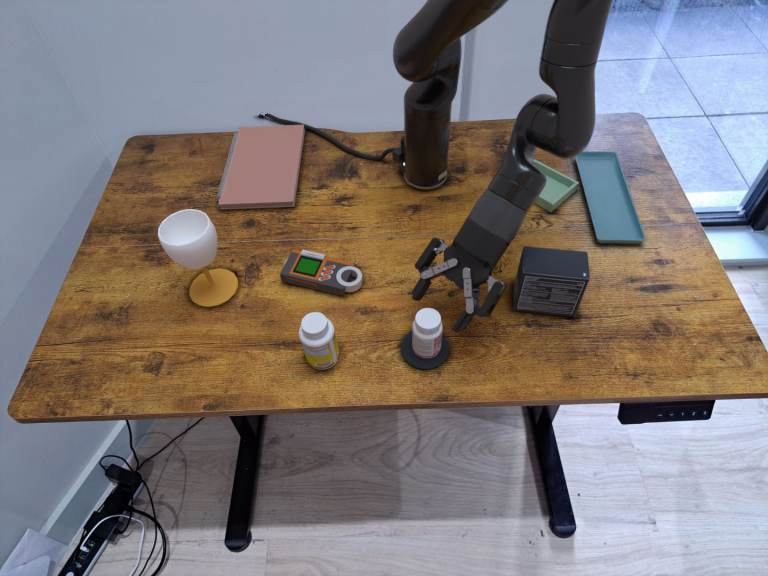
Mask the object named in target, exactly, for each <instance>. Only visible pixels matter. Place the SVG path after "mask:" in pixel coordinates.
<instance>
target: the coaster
mask: <svg viewBox="0 0 768 576" xmlns="http://www.w3.org/2000/svg"><path fill="white" fill-rule="evenodd" d="M412 337H413V329H412V330H410V331H408V333H407V334H405V336H404V337H403V339H402V340H401V344H400V353H401V355H402V358H403V359H404V361H405V362H406V363H407V364H408V365H409V366H411V367H413V368H415V369H417V370H420V371H431V370H434V369H437V368H439V367H441V366H442V365H443V364H444V363H445V362H446V361H447V359H448V357H449V354H450V343H449V341H448V339H447V337H446V336H445V335H444V334H443V333H442V341H441V349H440V351H439V353H438V354H437V355H436V356H435V357H432V358H422V357H419V356H418V355H416V354H415V352H414V351H413V348H412Z"/></svg>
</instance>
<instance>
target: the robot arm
mask: <svg viewBox="0 0 768 576" xmlns="http://www.w3.org/2000/svg"><path fill="white" fill-rule="evenodd" d="M509 1H510V0H426V1H425V3H424V4H423V5H422V7H421V8H420V9H419V10H418V12H416V14H415V15H414V16H413V17H412V18H411V19H410V20H409V21H408V22H407V23H406V24H405V25H404V26H403V27H402V28H401V29H400V30H399V32H398V33H397V34H396V37H395V39H394V42H393V47H392V62H393V65H394V68H395V70H396V72H397V73H398V75H399V76H400V77H401V78H402V79H403V80H405V81H407V82H410V83H411V84H410V85H409V86H408V87H407V88H406V91H405V92H404V95H403V135H402V136H401V137H400V145H399V146H398V147H390V148H387V149H385V150H384V151H383V152H382V153H381V155H375V156H374V155H368V154H365V153H362V152H361V151H357V150H355V149H353V148H351V147H348V146H346V145H345V144H343V143H341V142H340V141H338V140H337V139H336V138H334V137H332V136H331V135H329V134H327V133H325V132H324V131H322V130H320V129H318V128H316V127H314V126H312V125H309V124H306V123H302V122H300V121H299V122H298V121H294V120H288V119H285V118H280V117H277V116H276V115H273V114H271V113H269V112H266V113H267V114H265V116H263V115H261V113H260V114H259V115H258V116H257V117H258V118H259V119H262V118H263V117H266V118H269V119H271V120H273V121H274V122H277V123H280V124H286V125H304V129H305V130H306V129H307V130H309V131H311V132H313V133H315V134H318V135H319V136H321V137H323V138H324V139H326V140H328V141H329V142H331V143H332V144H334V145H336V146H337V147H338V148H339V149H341V150H343V151H345V152H346V153H348V154H349V153H350V154H352V155H354V156H357V157H360V158H362V159H364V160H370V161H381V160H384V159H385V158H386V156H387V155H388V154H392V160H393V161H394V162H395V163H397V164H399V165H400V170H401V171H400V172H401V173H400V174H401V175H402V176H403V178H404V182H405V183H406V184H407V185H408V186H409V187H411V188H413V189H415V190H419V191H433V190H436V189H439V188H441V187H442V186H443V185H444V184H445V183H446V182H447V180H448V163H449V149H450V138H451V137H450V134H451V122H452V120H451V119H452V108H453V107H452V106H453V101H454V99H455V97H456V95H457V92H458V85H459V79H460V70H461V63H462V54H463V53H462V52H463V51H462V50H463V48H462V47H463V46H462V39H461V38H462V37H463V36H465V35H466V34H468V33H469V32H471V31H473V30H475V29H476V28H477V27H479V25H481V24H483V23H484V22H485V21H487V20H488V19H490V18H491V17H493V16H494V15H495V14H496V13H497V12H499V11H500V10H501V9H502V8H503V7H504V6H505V5H506V4H507V3H508V2H509ZM613 1H614V0H553V2H552V4H551V6H550V10H549V13H548V16H547V19H546V23H545V28H544V35H543V42H542V46H541V52H540V59H539V65H538V76H539V78H540V80H541V81H542V82H543V83H544V84H545V85H546V86H548V87H549V88H550V89H551V90H552V91H553V92H554V94H555V96H554V95H551V94H549V93H539V94H537V95H534V96H532V97H531V98H530V99H528V100H527V101H526V102H525V103H524V105H522V107H521V109H520V110H519V112H518V114H517V116H516V118H515V121H514V124H513V127H512V131H511V134H510V137H509V140H508V144H507V147H506V149H505V153H504V156H503V159H502V162H501V164H500V166H499V168H498V169H497V171H496V172H495V174H494V176H493V177H492V179H491V181H490V183H489V184H488V186H487V187H486V188H485V190H484V191H483V193H482V194H481V195H480V197H479V198H478V199H477V201H476V202H475V204H473V205H474V206H473V207H472V208H471V211H470V212H469V214H468V216H467V217H466V218H465V220H464V221H463V223H462V225H461V226H460V228H459V230H458V232H457V233H456V235H455V236H454V238H453V241H452V243H451V244H450V245H448V244H446V241H445V240H444V239H443V238H440V237H432V239H431V240H430V241H429V242H428V244H427V245H426V247H425V248H424V250H423V251H422V253H421V255H420V256H419V258H418V259H417V261H416V262H415V264H414V268H415V270H417V271H418V272H419V275H420V277H419V279H418V281H417V283H416V284H415V285H414V287H413V289H412V290H411V291H412V292H411V294H412V296H411V299H412V300H413V301H415V302H421V301H422V300H423V298H424V297H425V295H426V293H427V292H428V290H429V288H430V287H431V286H432V284H433V281H432V280H434V279H437V278H440V277H444V278H445V279H447V280H448V281H450V282H453V283H454V284H455V286H456V287H457V288H459V289H462V290H463V296H464V299H465V309H464V310H462V312H461V314H460V315H459V317H458V318H457V319H456V321H455V323H454V324H453V326H452V327H451V331H452V332H453V333H455V334H457V333H460V332H461V333H462V332H465V331H466V330H467V329H468V327H469V326H470V324H471V323H472V321H473V320H474V318H475V316H476V317H479V318H489V317H491V316H492V315H493V312H494V310H495V309H496V307H497V305H498V304H499V302H500V300H501V299H502V297H503V295H504V294H505V291H506V290H507V288H508V284H507V282H505V281H500V280H498V279H497V278H495V277H494V276H493V271H494V269H495V268H496V267H497V265H498V263H499V262H500V261H501V259H502V257H503V256H504V254H505V252H506V251H507V250H508V248H509V246H510V245H511V243H512V242H513V241H514V240H515V238H516V237H517V235H518V232H519V231H520V230H521V228H522V226H523V224H524V221H525V219H526V218H527V216H528V214H529V212H530V211H531V209H532V208H533V206H534V204H535V201H536V200H537V198H538V196H539V195H540V194H541V192H542V190H543V189H544V187H545V185H546V182H547V178H546V175H545V174H544V173H543V172H542V171H541V170H540V169H539V168H538V167H537V166H536V165H535V164H534V159H535V155H536V151H537V149H539V150H542V151H544V152H546V153H548V154H550V155H552V156H554V157H556V158H558V159H562V160H570V159H575V157H576V156H577V155H579V154H580V153H581V152H582V151H585V150H586V148H587V147H588V146H589V144H590V142H591V140H592V137H593V135H594V133H595V126H596V117H597V116H596V115H597V114H596V68H597V64H598V59H599V56H600V51H601V48H602V43H603V40H604V35H605V31H606V27H607V24H608V23H607V22H608V19H609V15H610V12H611V9H612V6H613ZM268 113H269V114H268ZM442 253H443V262H442V263H439V264H435V265H434V266H432V267H431V265H432V264H433V262H434V260H435V259H436V258H437V257H438V255H441V254H442ZM430 267H431V268H430ZM484 284H488V286H487V291H488V293H487V295H486V296H485V299H484V300H483V301H482V304H481V303H480V302H481V301H480V300H481V299H480V298H481V286H482V285H484Z"/></svg>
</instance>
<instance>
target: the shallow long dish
mask: <svg viewBox="0 0 768 576" xmlns="http://www.w3.org/2000/svg"><path fill="white" fill-rule="evenodd" d="M574 159H575V162H576V165H577V169H578V173H579V178H580V182H581V185H582V188H583V193H584V196H585V200H586V204H587V207H588V212H589V215H590V218H591V222H592V227H593V229H594V233H595V238H596V242H597V243H599V244H618V245H619V244H621V245H624V244H625V245H636V244H640V243H644V242H645V241H647V237H646V234H645V231H644V229H643V226H642V223H641V219H640V217H639V214H638V211H637V209H636V204H635V202H634V200H633V196H632V193H631V189H630V188H629V184H628V181H627V179H626V176H625V173H624V170H623V167H622V164H621V160H620V157H619V155H618V153H617V151H614V150H609V151H608V150H607V151H606V150H602V151H600V150H599V151H597V150H596V151H594V150H592V151H590V150H583V151H582V152H581V153H580V154H579V155H577V156H576V157H574Z"/></svg>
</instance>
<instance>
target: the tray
mask: <svg viewBox="0 0 768 576" xmlns="http://www.w3.org/2000/svg"><path fill="white" fill-rule="evenodd" d="M534 164H535V165H536V166H537V167H538V168H539V169H540V170H541V171H542V172H543V173H544V174H545V175H546V178H547V182H546V185H545V187H544V189H543V190H542V192H541V194H540V195H539V196H538V198H537V200H536V201H535V203H534V204H535V205H537V206H539V207H541V208H542V209H544V210H546V211H547V212H549V213H552V212H553V211H554V210H556V209H557V208H558V207H559V206H560V205H561V204H563V203H564V202H565V201H566V200H567V199H569V198H570V197H571V196H572V195H573V194H574V193H575V192H577V190H578V187H579V184H580V182H579V181H577V180H575V179H573V178H572V177H569V176H568V175H565V174H564V173H562V172H560V171H558V170H556V169H555V168H552V167H550V166H549V165H546V164H545V163H543V162H541V161H539V160H537V159H536V158H534Z"/></svg>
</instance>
